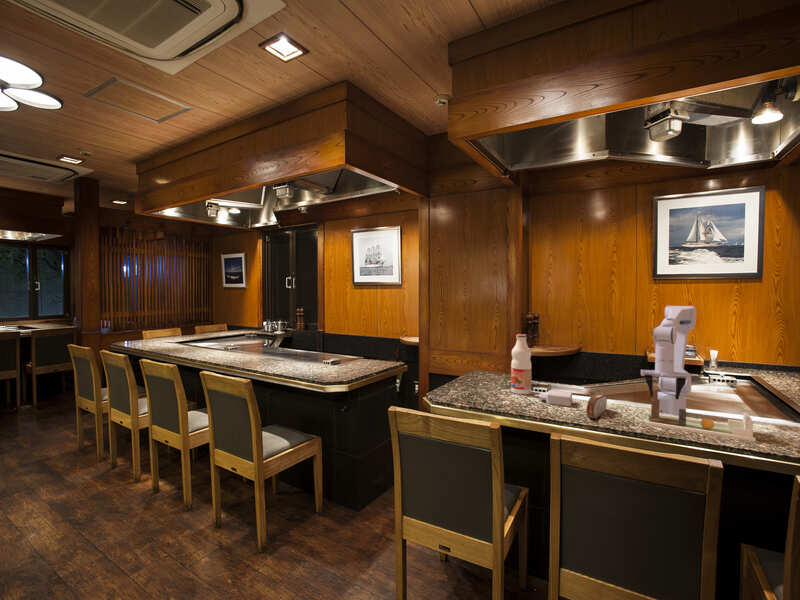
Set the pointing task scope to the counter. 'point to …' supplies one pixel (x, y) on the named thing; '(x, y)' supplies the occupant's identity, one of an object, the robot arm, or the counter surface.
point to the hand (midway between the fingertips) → (664, 397)
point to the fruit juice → (521, 366)
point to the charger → (557, 397)
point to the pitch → (730, 430)
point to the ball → (707, 423)
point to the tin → (596, 406)
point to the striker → (656, 418)
